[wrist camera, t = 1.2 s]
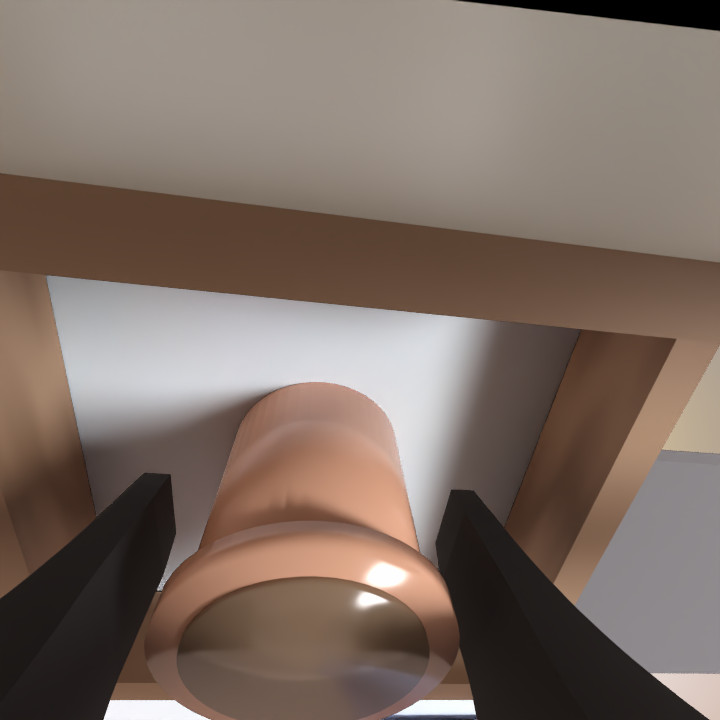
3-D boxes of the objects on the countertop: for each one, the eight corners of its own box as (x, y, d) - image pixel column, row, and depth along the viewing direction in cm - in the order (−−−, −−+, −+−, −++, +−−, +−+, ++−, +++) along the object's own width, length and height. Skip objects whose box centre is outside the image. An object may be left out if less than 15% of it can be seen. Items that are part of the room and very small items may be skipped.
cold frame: (493, 615, 18) (563, 820, 12) (86, 606, 16) (-38, 840, 11) (663, 219, 11) (1005, 294, 5) (-37, 124, 9) (-605, 91, 3)
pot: (392, 521, 15) (428, 741, 9) (223, 513, 14) (155, 744, 9) (424, 378, 12) (498, 565, 7) (220, 361, 12) (120, 552, 6)
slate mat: (752, 660, 20) (764, 673, 20) (517, 657, 19) (523, 672, 19) (932, 468, 15) (954, 480, 15) (624, 447, 14) (635, 459, 13)
